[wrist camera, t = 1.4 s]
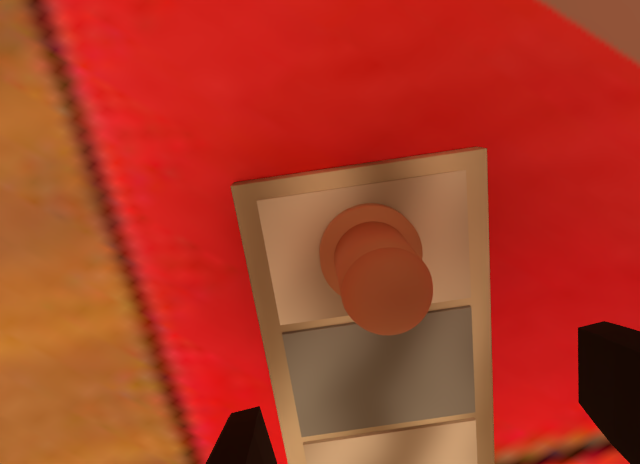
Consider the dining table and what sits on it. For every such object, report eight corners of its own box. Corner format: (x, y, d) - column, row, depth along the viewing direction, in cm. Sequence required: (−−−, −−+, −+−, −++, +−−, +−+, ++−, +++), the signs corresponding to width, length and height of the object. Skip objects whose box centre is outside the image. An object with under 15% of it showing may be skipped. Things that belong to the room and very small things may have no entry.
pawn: (413, 196, 17) (462, 232, 12) (420, 288, 19) (468, 360, 13) (312, 211, 17) (315, 254, 12) (326, 302, 19) (335, 379, 13)
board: (477, 146, 18) (488, 148, 17) (490, 574, 26) (499, 595, 24) (234, 182, 18) (229, 187, 17) (319, 598, 26) (320, 621, 25)
